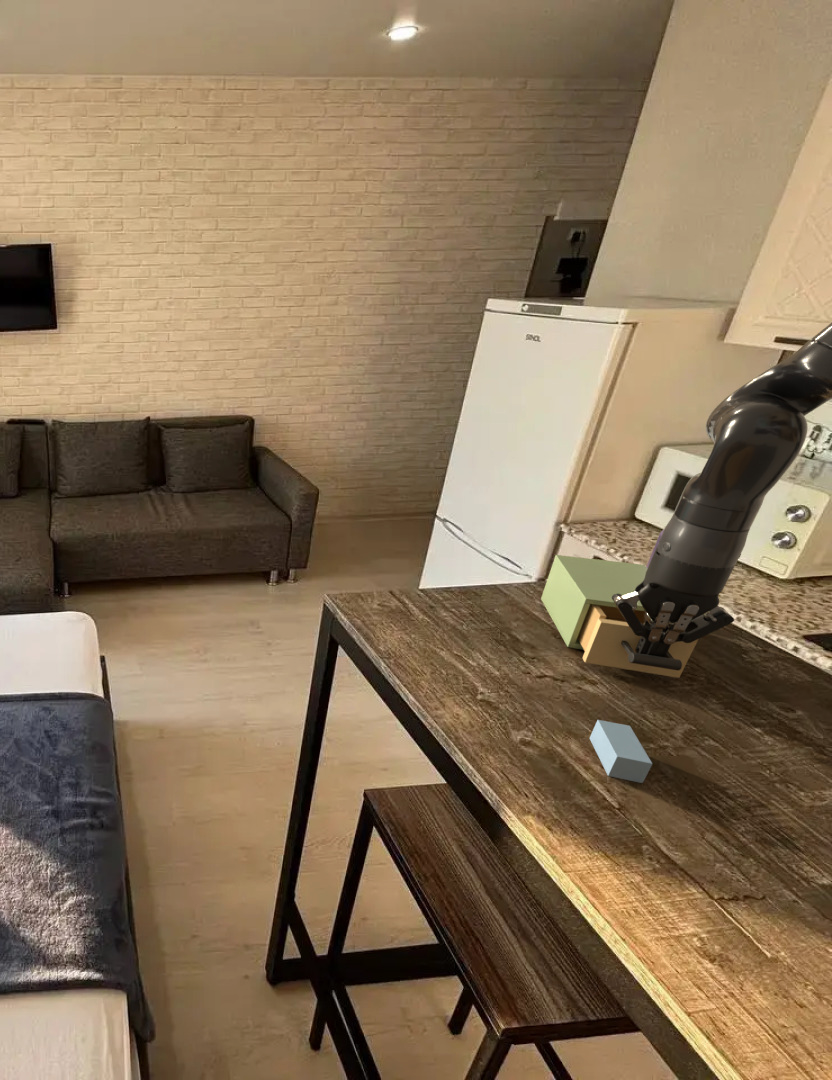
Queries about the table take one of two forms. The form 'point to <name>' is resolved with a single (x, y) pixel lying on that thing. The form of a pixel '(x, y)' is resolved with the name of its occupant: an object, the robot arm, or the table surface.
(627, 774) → the light blue rectangular block
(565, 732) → the table surface
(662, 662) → the drawer
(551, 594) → the cabinet
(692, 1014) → the table surface
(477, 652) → the table surface
